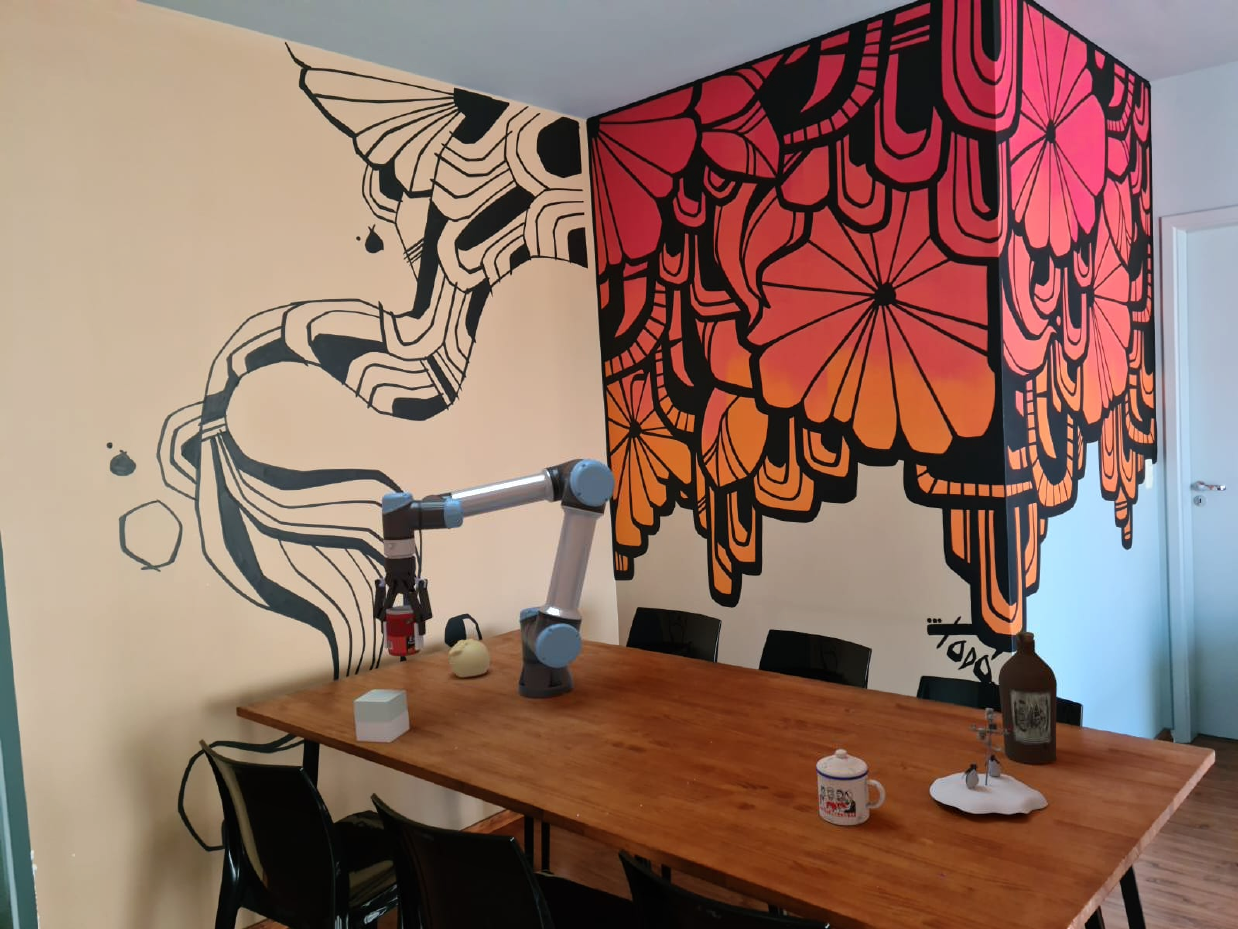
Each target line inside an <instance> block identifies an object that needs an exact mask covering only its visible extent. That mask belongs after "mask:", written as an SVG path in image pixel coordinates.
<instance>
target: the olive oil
mask: <svg viewBox="0 0 1238 929" xmlns="http://www.w3.org/2000/svg"><path fill="white" fill-rule="evenodd" d="M997 679H998V688H999V689H998V690H999V691H998V692H999V701H1000V710H1001V719H1002V728H1003V729H1002V731H1003V730H1004V728H1006V730H1007V729H1008V728H1010V727H1011V726H1013V728H1012V729H1011V730H1007V732H1008V733H1009V734H1003V742H1004V743H1003V745H1004V746H1003V747H1004V755H1005V756H1006V757H1007V758H1008V759H1009V760H1012V761H1015V762H1017V763H1022V764H1026V765H1047V764H1051V763H1053V762H1055V761H1056V759H1057V697H1058V696H1057V695H1058V694H1057V693H1058V692H1057V691H1058V684H1057V683H1058V682H1057V678H1056V674H1055V673H1054V670H1053V669H1052V667H1051V666H1050V665H1049V664H1048V663H1046V661H1045V660H1043V659H1042V657H1041V656H1040V655H1038V653H1037V652H1036V640H1035V634H1034V633H1033V632H1031V631H1030V632H1029V631H1018V632H1017V633H1016V651H1015V653H1014V654H1013V655H1012V656H1011V657H1010V658H1009V659H1007V660H1006V662H1004V664H1002V666H1001V667H1000V671H999V672H998V678H997Z"/></svg>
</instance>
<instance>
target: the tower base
mask: <svg viewBox="0 0 1238 929" xmlns="http://www.w3.org/2000/svg"><path fill="white" fill-rule="evenodd" d="M409 717H410V716H409V710H408V709H407V711H405V712H404V713H402V714H401V715H399V716H398V717H396V718H395V719H393V720H392V721H391V722H389V723H381V722H355V733H356V741H358V742H374V743H375V742H376V743H391V742H393V741H394V740H396V739H398V738H399V737H400V736H402V735H403V734H405V733H406V732H407V731H409V730H410V719H409Z"/></svg>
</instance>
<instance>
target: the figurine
mask: <svg viewBox="0 0 1238 929" xmlns="http://www.w3.org/2000/svg"><path fill="white" fill-rule="evenodd" d="M984 712H985V713H984V714H985V715H984V719H985V720H987V729H986V728H984V727H979V728H978V725H977V724H975V725H973V724H970V726H971V727H972V728H968V731H970V732H976V733H977V736H976V738H978V740H980V741H982V742H983V743H985V744H987V756H986V757H987V758H986V762H985V764H984V767H986V770H985V773H979V772H978V770H977V768H979V765H978V764H973V763H971V764H970V765H969V768H967V770H965V772H959V773H958V772H957V773H953V774H950V775H948V776H944V777H941V778H940V777H939V778H936V780H934V782H933V783H932V784H931V786H930V787H929V793H930V795H931V797H932V798H933V799H934V800H936V801H938V802H940V803H942V804H944V805H948V806H951V807H955V808H958V809H959V810H961V811H963V812H967V813H970V814H971V813H972V814H975V815H976V814H978V815H979V814H991V813H996V814H997V813H998V814H1003V815H1012V814H1016V813H1017V814H1018V813H1023V814H1029V813H1031V811H1034V810H1040V809H1044V808H1045V807H1048V805H1049V803H1048V802H1047V799H1046V798H1045V796H1044V795H1043V794H1042V793H1041V792H1039V791H1038V790H1037V789H1035V788H1034V789H1033V788H1031V787H1029V786H1028V785H1026V784H1025V783H1023V782H1021V781H1019V780H1017V779H1015V778H1014V777H1013V776H1011V775H1008V774H1004V773H1002V769H1005V768H1004V766H1003V765H1002V764H1001V762H1000V760H997V758H996V755H994V754H990V753H991V749H992V750H993V752H994V753H996V752H998V753H1003V752H1004V750H1003V748H1002V747H998V748H996V747H995V746H993V745H992V743H993V742H992V734H993V735H994V737H996V736H999V735H1000V736H1001V735H1004V734H1009V733H1008V732H1007V730H1011V729H1012V728H1013V726H1011V727H1010V728H1008V729H1007V730H1006V728H1004V730H1003V727H1001V728H1000V731H999V728H998V724H997V722H994V720H998V714H994V708H989V707H986V708H985V711H984ZM977 728H978V729H977ZM1001 730H1002V731H1001ZM987 736H988V740H986V739H987ZM977 765H978V766H977ZM1000 765H1001V767H1002V769H1001V767H1000Z"/></svg>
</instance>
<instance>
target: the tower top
mask: <svg viewBox="0 0 1238 929" xmlns="http://www.w3.org/2000/svg"><path fill="white" fill-rule="evenodd" d="M407 701H408V699H407V690H406V689H375V688H374V689H372V690H370V691H368V692H366V693H364V694H363V695H362V696H360V697H358V698H357V699H355V700H353V712H354V713H353V714H354V723H356V722H381V723H389V722H391V721H392V720H393V719H395V718H396V717H398V716H399V715H401V714H402V713H404V712H405V711H407V710H408V702H407Z"/></svg>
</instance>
